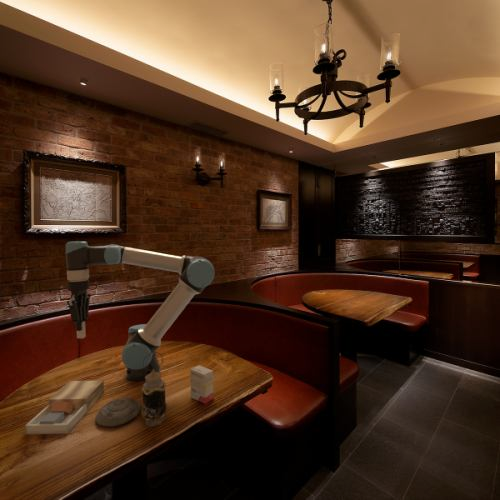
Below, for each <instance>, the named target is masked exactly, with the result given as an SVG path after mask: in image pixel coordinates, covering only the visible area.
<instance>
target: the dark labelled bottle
mask: <svg viewBox="0 0 500 500" xmlns="http://www.w3.org/2000/svg"><path fill="white" fill-rule="evenodd" d="M151 353H156V354H158V355H160V356H161V364H160V366H159V367H160V368H161V366H162V365H163V363H164V357H163V355H162V354H161V353H160V352H159V351H158V352H157V351H156V352H151ZM149 354H150V353H149ZM149 354H147V355H149ZM147 355H146V356H147ZM146 356H145V358H146ZM145 358H144V359H145ZM143 367H144V360H143ZM159 367H158V368H159ZM144 368H145V367H144ZM158 368H157V369H158ZM145 369H146V368H145ZM157 369H155V370H157ZM146 370H147V369H146ZM148 371H152V372H151V373H150V374H148V375H147V376H146V377H145V379H146V380H145V383H143V387H142V388H141V391H140V392H141V394H142V405H141V409H140V411H141V412H140V413H141V417H142V418H143V420H144V421H145V425H146V426H148V427H155V426H158V425H161V424H162V423H163V422H164V421H165V415H166V414H167V411H168V410H167V409H168V407H167V402H166V387H167V386H166V382H165V381H164V380H163V379H162V376H163V375H162V374H161V373H160V372H159V373H157V372H155V371H154V369H153V370H148Z"/></svg>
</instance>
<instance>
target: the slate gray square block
mask: <svg viewBox="0 0 500 500" xmlns="http://www.w3.org/2000/svg"><path fill="white" fill-rule="evenodd" d="M63 421H64V412H49V413H48V414H47V415H46V416H45V417H44V418H42V419H41V420H40V421H39V424H57V423H62V422H63Z"/></svg>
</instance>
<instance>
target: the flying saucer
mask: <svg viewBox="0 0 500 500" xmlns="http://www.w3.org/2000/svg"><path fill="white" fill-rule="evenodd" d="M141 409H142V405H141V404H140V403H139V401H137V400H136V399H134V398H129V397H122V398H116V399H112V400H111V401H109V402H107V403H106V404H105V405H103V406H102V407H101V408H100V409H99V411H98V412H97V414H96V415H95V421H96V423H97V424H98V425H100V426H102V427H116V426H122V425H123V424H126V423H128V422H130V421H132V420H134V419H135V417H136V418H137V416H138V415H139V414H140V413H141V412H140V411H141Z"/></svg>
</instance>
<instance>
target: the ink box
mask: <svg viewBox="0 0 500 500" xmlns="http://www.w3.org/2000/svg"><path fill="white" fill-rule="evenodd" d="M189 371H190V398H191V399H194V400H196V401H198V402H200V403H203V404H205V405H207V404H208V403H209V402H210V401H212V400H213V399H214V370H212V369H209V368H207V367H204V366H202V365H199V364H198V365H197V366H195V367H192V368H191V369H190V370H189Z"/></svg>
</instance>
